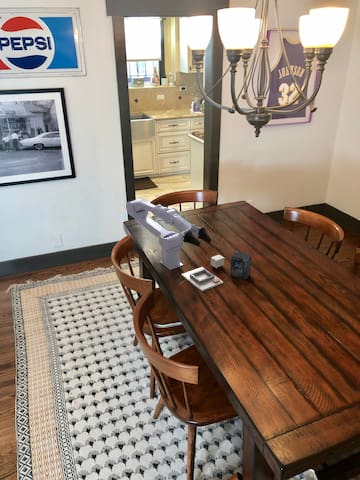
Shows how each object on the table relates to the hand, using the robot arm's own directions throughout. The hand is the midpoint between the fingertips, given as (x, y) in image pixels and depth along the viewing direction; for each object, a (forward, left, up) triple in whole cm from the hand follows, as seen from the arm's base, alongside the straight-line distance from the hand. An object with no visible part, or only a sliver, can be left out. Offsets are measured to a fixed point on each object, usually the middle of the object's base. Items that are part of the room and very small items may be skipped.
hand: (205, 243), depth 160 cm
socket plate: (-1, 0, -19) cm, 19 cm away
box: (+6, +17, -19) cm, 26 cm away
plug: (-6, +13, -19) cm, 24 cm away
